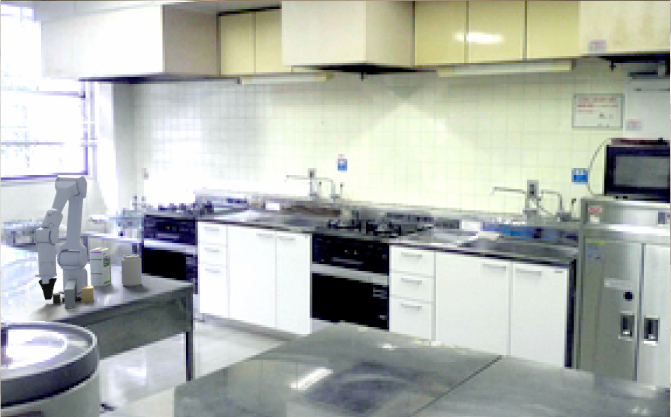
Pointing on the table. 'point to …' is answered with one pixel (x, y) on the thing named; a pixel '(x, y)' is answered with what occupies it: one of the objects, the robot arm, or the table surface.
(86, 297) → the plug
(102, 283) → the syrup box
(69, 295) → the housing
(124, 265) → the can
